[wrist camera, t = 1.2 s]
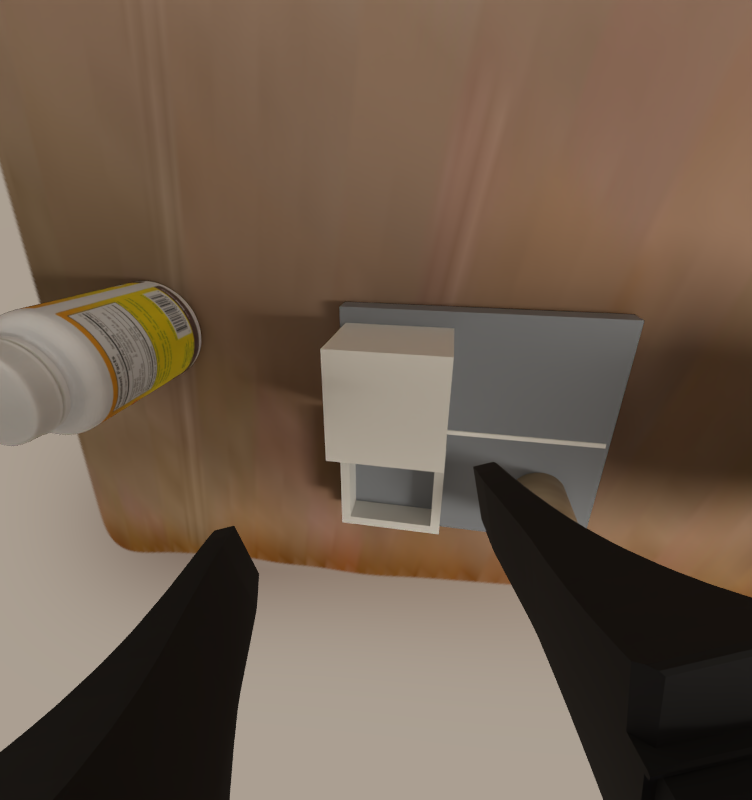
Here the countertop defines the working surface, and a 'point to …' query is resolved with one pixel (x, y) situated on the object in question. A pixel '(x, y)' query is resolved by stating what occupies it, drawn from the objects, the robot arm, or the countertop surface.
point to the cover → (387, 395)
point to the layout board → (504, 410)
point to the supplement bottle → (90, 357)
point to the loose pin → (549, 491)
